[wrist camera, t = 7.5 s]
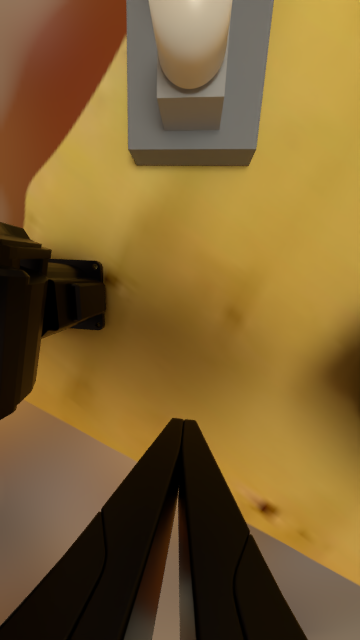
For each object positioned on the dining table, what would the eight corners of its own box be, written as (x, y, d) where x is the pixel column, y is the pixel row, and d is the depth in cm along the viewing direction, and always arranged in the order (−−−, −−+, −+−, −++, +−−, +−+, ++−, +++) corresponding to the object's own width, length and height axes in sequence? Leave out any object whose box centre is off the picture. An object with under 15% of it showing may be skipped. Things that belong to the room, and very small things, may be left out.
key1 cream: (164, 124, 13) (144, 33, 8) (166, 56, 12) (145, -92, 7) (218, 124, 13) (231, 28, 8) (223, 54, 12) (242, -102, 7)
